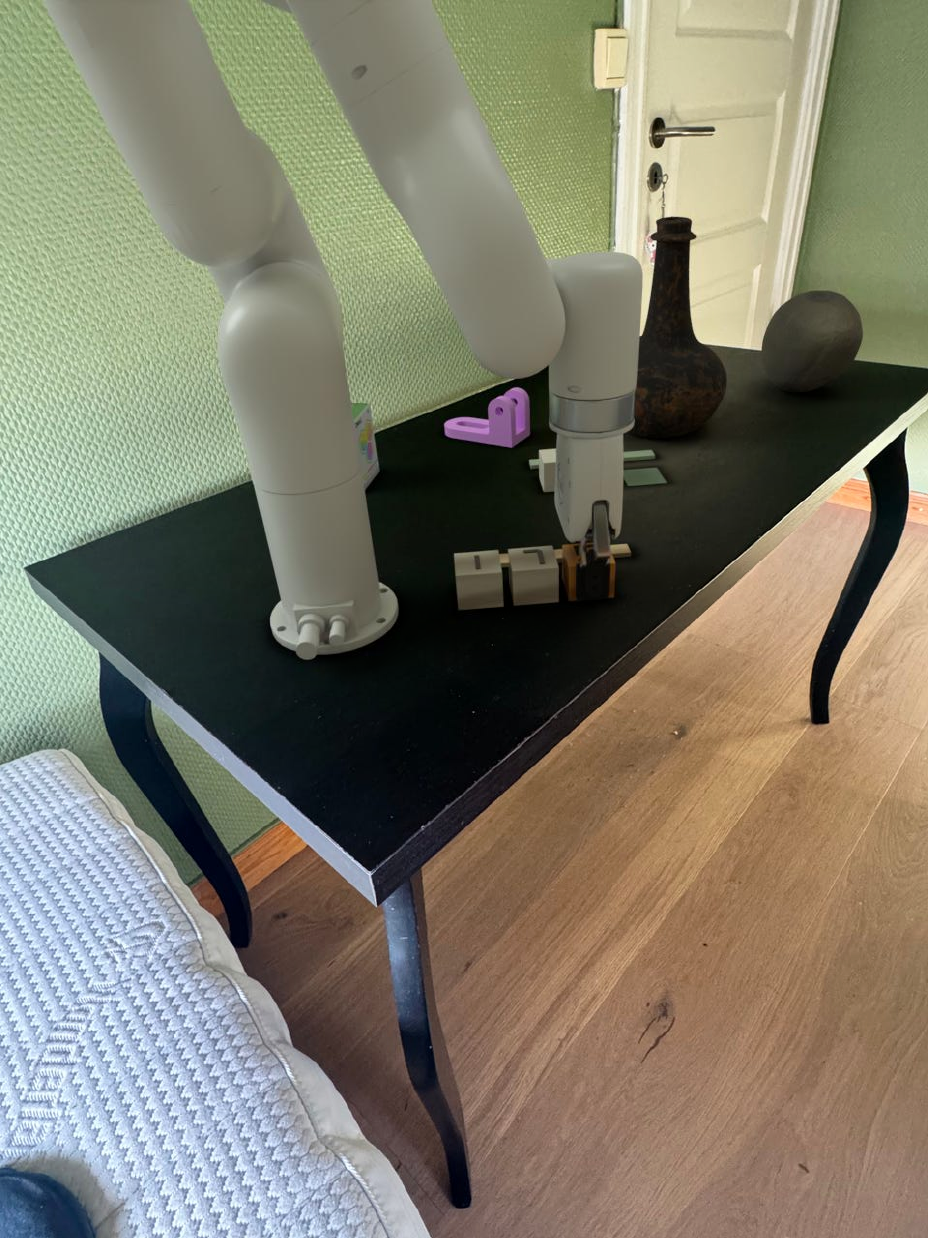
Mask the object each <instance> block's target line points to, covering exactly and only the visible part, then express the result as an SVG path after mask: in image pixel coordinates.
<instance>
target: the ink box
mask: <svg viewBox="0 0 928 1238" xmlns="http://www.w3.org/2000/svg"><path fill="white" fill-rule="evenodd" d="M351 406H352V412H353V419H354V425H355V431H356V438H357V443H358V451H359V457H360V463H361V469H362V476H363V482H364V489H365V491H366V490H367V488H368V487H369V486H370V485H371V483H372V482H373V481H374V479H375V477H376V476H377V475H378V474H379V472H380V465H379V457H378V452H377V444H376V443H377V442H376V438H375V436H376V435H375V431H374V423H373V415H372V409H371V404H370V402H369V403H366V402H351Z"/></svg>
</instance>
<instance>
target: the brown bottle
mask: <svg viewBox="0 0 928 1238" xmlns="http://www.w3.org/2000/svg"><path fill="white" fill-rule="evenodd" d="M655 224H656V232H654V233H651V235H650V239H651V240H652V241H654V242H655V251H654V252H655V253H654V263H653V270H652V271H653V272H652V278H651V279H652V280H651V288H650V296H649V302H648V308H647V314H646V318H645V323H644V327H643V331H642V333H641V335H640V336H639V354H638V371H637V386H636V406H635V423H634V427H633V428H632V429H631V430H629V431H628V432H627V433H629V434H632V435H634V436H637V437H643V438H650V439H667V438H673V437H679V436H683V435H687V434H689V433H691V432H693V431H695V430H697V429H699V428H700V427H702V426H703V425H705V424H706V423H707V422H708V421H709V420H710V419H711V418H712V417H713V416H714V415H715V413H716V412H717V410H718V409H719V407H720V406H721V404H722V402H723V400H724V397H725V394H726V391H727V382H728V381H727V380H728V379H727V371H726V369H725V366H724V363H723V361H722V360H721V358H720V356H718V354H717V353H716V352H715V351H714V350H713V349H712V348H710V347H709V346H707V345H705V344H704V343H702V342H700V341H699V340H698V339H697V336H696V333H695V330H694V327H693V320H692V312H691V297H690V296H691V292H690V291H691V289H690V267H691V266H690V262H691V261H690V260H691V259H690V258H691V241H693V240H696V239H697V237H698V236H697V234H695V233H694V232H692V225H693V220H692V219H691V217H690V218H689V217H687V216H686V217H685V216H666V217H660V218H659V219H656V221H655Z"/></svg>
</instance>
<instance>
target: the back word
mask: <svg viewBox="0 0 928 1238" xmlns="http://www.w3.org/2000/svg"><path fill="white" fill-rule="evenodd" d="M623 455H624V459H623V463H624V462H636V461H637V462H638V461H647V460H655V459H656V454H655V453H654V451H653V450H652V449H645V450H634V451H623ZM528 465H529V468H530V470H538V473H539V474H538V475H539V476H538V477H539V482H540V485H541V487H542V491H543V492H544V493H551V492H552V493H553V492H555V469H556V448H547V449H539V450H538V458H537V459H535V458H533V459H529V460H528ZM623 481H624V482H625V483H626V486H627V487H637V486H649V485H661V484H663V485H664V484H667V483H668V482H667V480H666V479H665V477H664V476H663V474H662V473H661V471H660V470H659V469H658V467H649V468H647V467H646V468H636V469H625V470H624V469H623Z"/></svg>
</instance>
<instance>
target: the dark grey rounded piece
mask: <svg viewBox="0 0 928 1238" xmlns="http://www.w3.org/2000/svg"><path fill="white" fill-rule="evenodd" d="M863 337H864V330H863V322H862V318H861V314H860V313H859V310H857V308H856V306H855V305H854V304H853V303H852V301H851V300H849V299H848V298H847V297H846V296H844V295H843V294H841V293H839V292H835V291H832V290H808V291H805V292H801V293H799V294H798V293H797V294H796V295H794V296H792V297H791V298H790V299H788V300H786V301H785V302H784V303H782V305H781V306H780V307H778V309H777V310H776V311H775V312H774V313H773V315H772V316H771V318H770V320H769V322H768V324H767V326H766V328H765V331H764V335H763V337H762V341H761V351H760V352H761V353H760V355H761V361H762V366H763V369H764V371H765V374H766V375H767V378H768V379H769V380H770V382H771V383H772V384H773V385H774V386H775V387H776V388H777V389H780V390H782V391H784V392H788V393H806V392H810V391H814V390H816V389H819V388H821V387H824V386H825V385H827V384H829V383H831V382H832V381H834V380H836V379H837V378H838V377H840V376H841V375H843V373H844V372H846V370H848V368H850V366H851V365H852V364H853V362H854V361H855V359H856V357H857V355H858V353H859V350H860V348H861V346H862V342H863Z"/></svg>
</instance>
